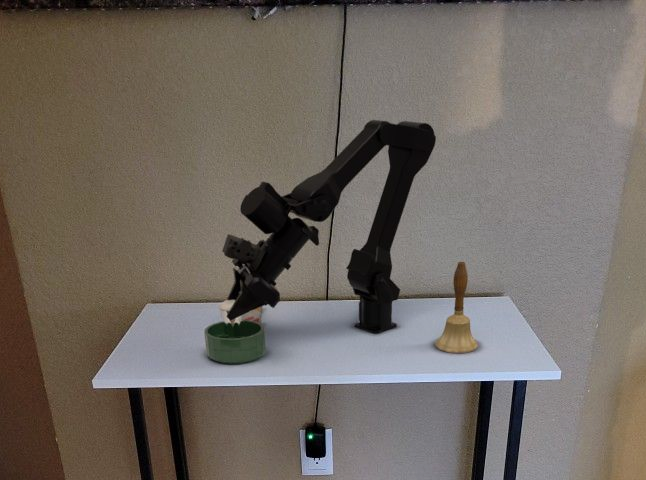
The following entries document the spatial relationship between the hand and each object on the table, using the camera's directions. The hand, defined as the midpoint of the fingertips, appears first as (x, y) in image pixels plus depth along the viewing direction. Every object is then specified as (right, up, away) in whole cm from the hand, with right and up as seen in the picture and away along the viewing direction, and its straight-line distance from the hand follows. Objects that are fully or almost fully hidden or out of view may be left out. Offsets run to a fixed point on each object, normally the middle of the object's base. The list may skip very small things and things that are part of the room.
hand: (226, 314), depth 139 cm
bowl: (+1, -7, +4) cm, 8 cm away
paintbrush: (+3, +3, +20) cm, 20 cm away
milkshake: (+2, -5, +4) cm, 7 cm away
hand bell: (+44, -5, +6) cm, 45 cm away
